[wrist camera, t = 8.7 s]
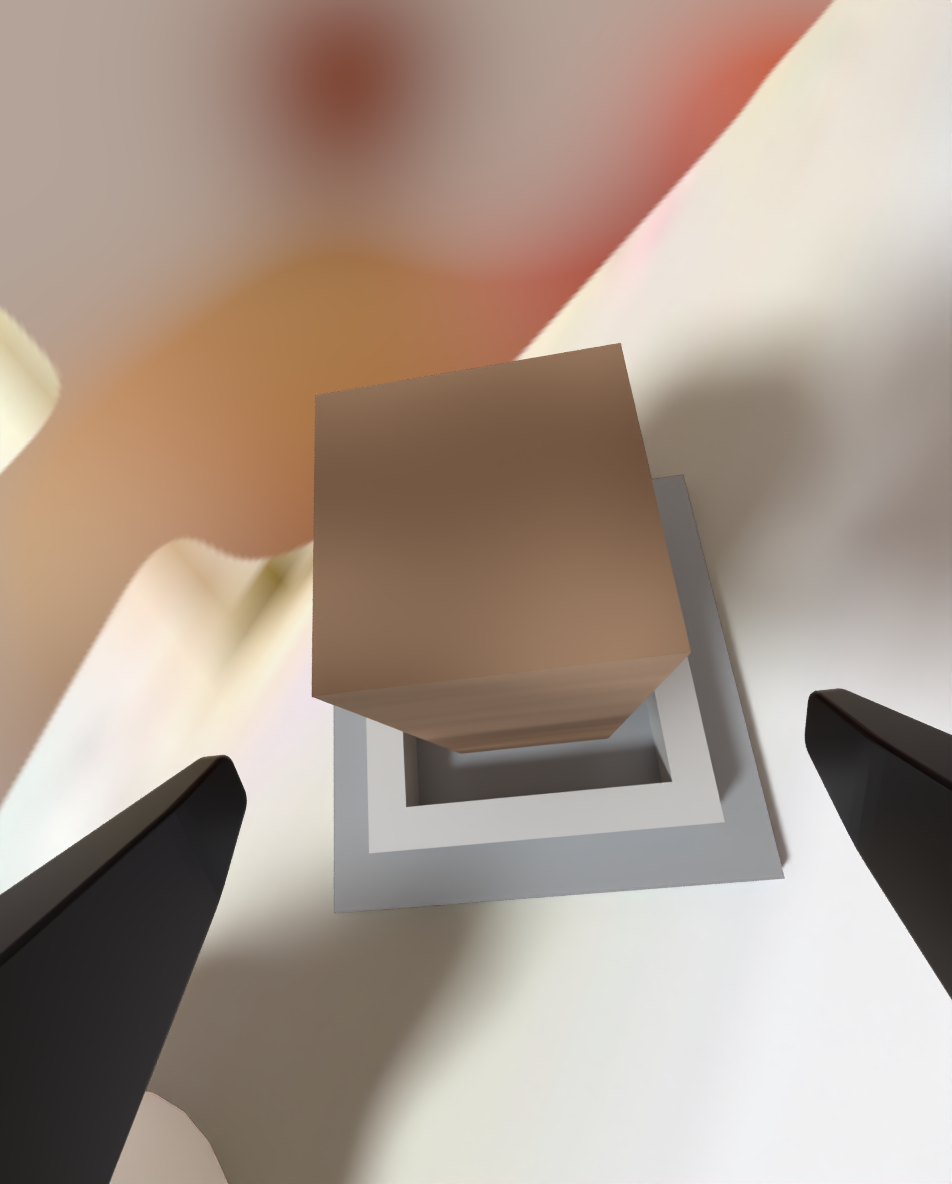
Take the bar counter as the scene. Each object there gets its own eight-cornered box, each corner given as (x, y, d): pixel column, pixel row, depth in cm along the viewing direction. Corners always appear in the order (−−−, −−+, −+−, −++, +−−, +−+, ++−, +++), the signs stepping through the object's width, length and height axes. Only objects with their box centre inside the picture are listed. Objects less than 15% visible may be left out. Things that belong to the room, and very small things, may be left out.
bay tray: (777, 875, 17) (809, 888, 15) (340, 909, 19) (310, 925, 16) (679, 482, 22) (693, 448, 20) (338, 532, 24) (315, 505, 21)
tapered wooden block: (608, 738, 19) (691, 652, 7) (461, 753, 19) (311, 696, 8) (584, 598, 20) (620, 342, 9) (450, 615, 21) (315, 395, 9)
